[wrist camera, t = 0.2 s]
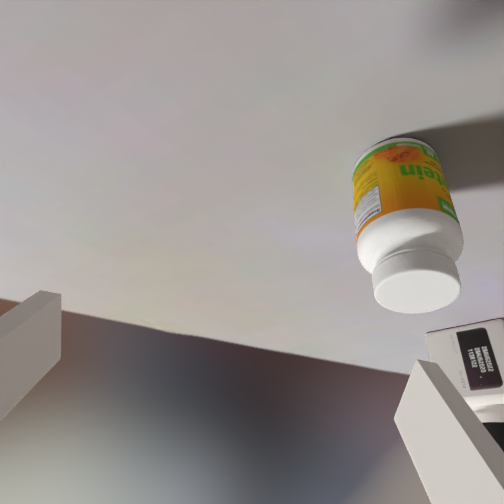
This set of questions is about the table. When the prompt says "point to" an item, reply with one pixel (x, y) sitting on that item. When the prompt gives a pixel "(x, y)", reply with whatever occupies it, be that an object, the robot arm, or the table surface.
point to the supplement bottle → (406, 226)
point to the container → (475, 368)
